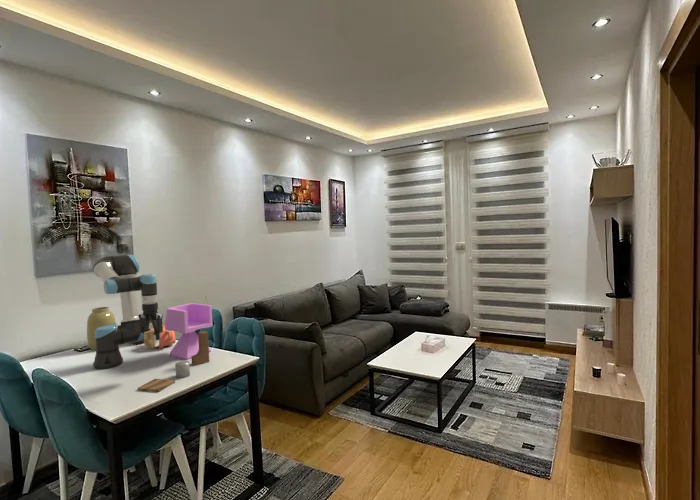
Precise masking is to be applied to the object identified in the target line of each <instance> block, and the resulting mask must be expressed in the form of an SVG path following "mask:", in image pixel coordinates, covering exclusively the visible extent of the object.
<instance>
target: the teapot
mask: <svg viewBox="0 0 700 500" xmlns="http://www.w3.org/2000/svg"><path fill="white" fill-rule="evenodd" d="M162 326H163V332H162V333H160V334H159V335H160V339H159V345H158V346H156V347H155V348H158V350H162V349H164V347H167V346H168V347H173V346H172V345H175V344H176V341H177V340H176V334H175V332H176V331H168V330H165V324H164V325H163V324H162ZM149 329H150V330H154V328H149Z"/></svg>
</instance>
